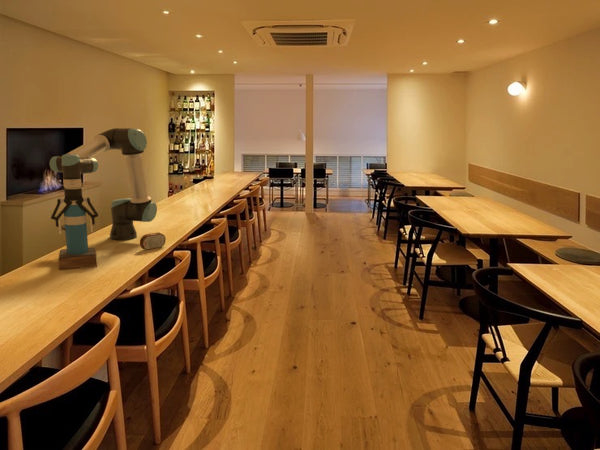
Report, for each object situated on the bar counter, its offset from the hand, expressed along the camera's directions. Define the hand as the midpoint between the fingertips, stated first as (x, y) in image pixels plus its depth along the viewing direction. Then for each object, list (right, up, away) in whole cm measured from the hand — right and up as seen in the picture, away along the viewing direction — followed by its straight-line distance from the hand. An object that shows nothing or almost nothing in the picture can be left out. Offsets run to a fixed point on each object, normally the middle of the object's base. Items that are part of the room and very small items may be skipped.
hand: (76, 232), depth 231 cm
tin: (+26, -10, +35) cm, 44 cm away
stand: (0, -15, +3) cm, 16 cm away
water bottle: (0, -9, +2) cm, 10 cm away
